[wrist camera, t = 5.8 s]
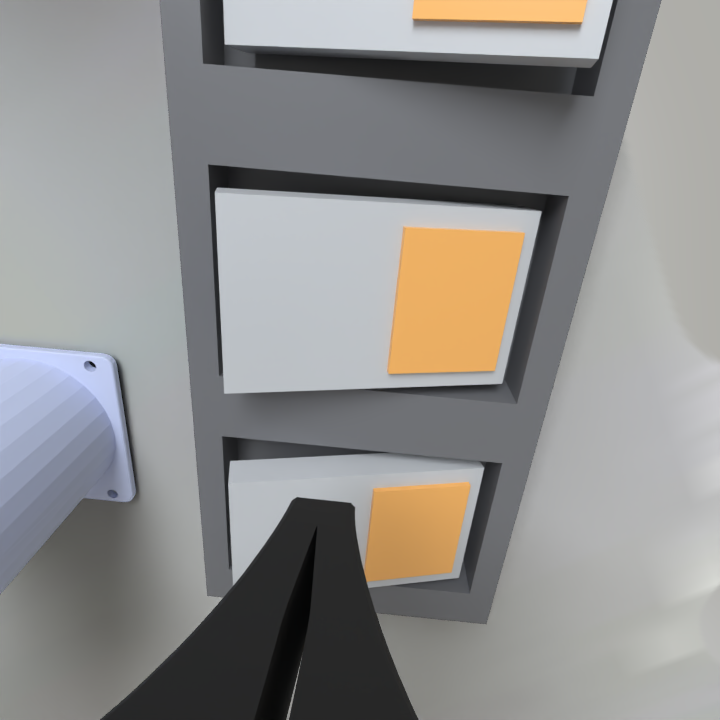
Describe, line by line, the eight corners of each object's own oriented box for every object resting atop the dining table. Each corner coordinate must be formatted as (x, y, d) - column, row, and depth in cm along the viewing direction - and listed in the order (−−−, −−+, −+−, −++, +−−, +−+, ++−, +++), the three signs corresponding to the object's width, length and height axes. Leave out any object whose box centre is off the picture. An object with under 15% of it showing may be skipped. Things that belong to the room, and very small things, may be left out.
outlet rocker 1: (225, 375, 15) (223, 396, 14) (217, 187, 13) (214, 193, 11) (485, 368, 17) (505, 386, 16) (520, 205, 15) (545, 212, 13)
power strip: (237, 520, 24) (207, 595, 20) (206, -273, 13) (122, -467, 9) (469, 543, 24) (486, 624, 20) (653, -240, 13) (780, -423, 9)
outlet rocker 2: (235, 576, 19) (233, 607, 18) (230, 461, 16) (228, 487, 15) (448, 555, 21) (460, 581, 19) (471, 448, 18) (486, 471, 17)
